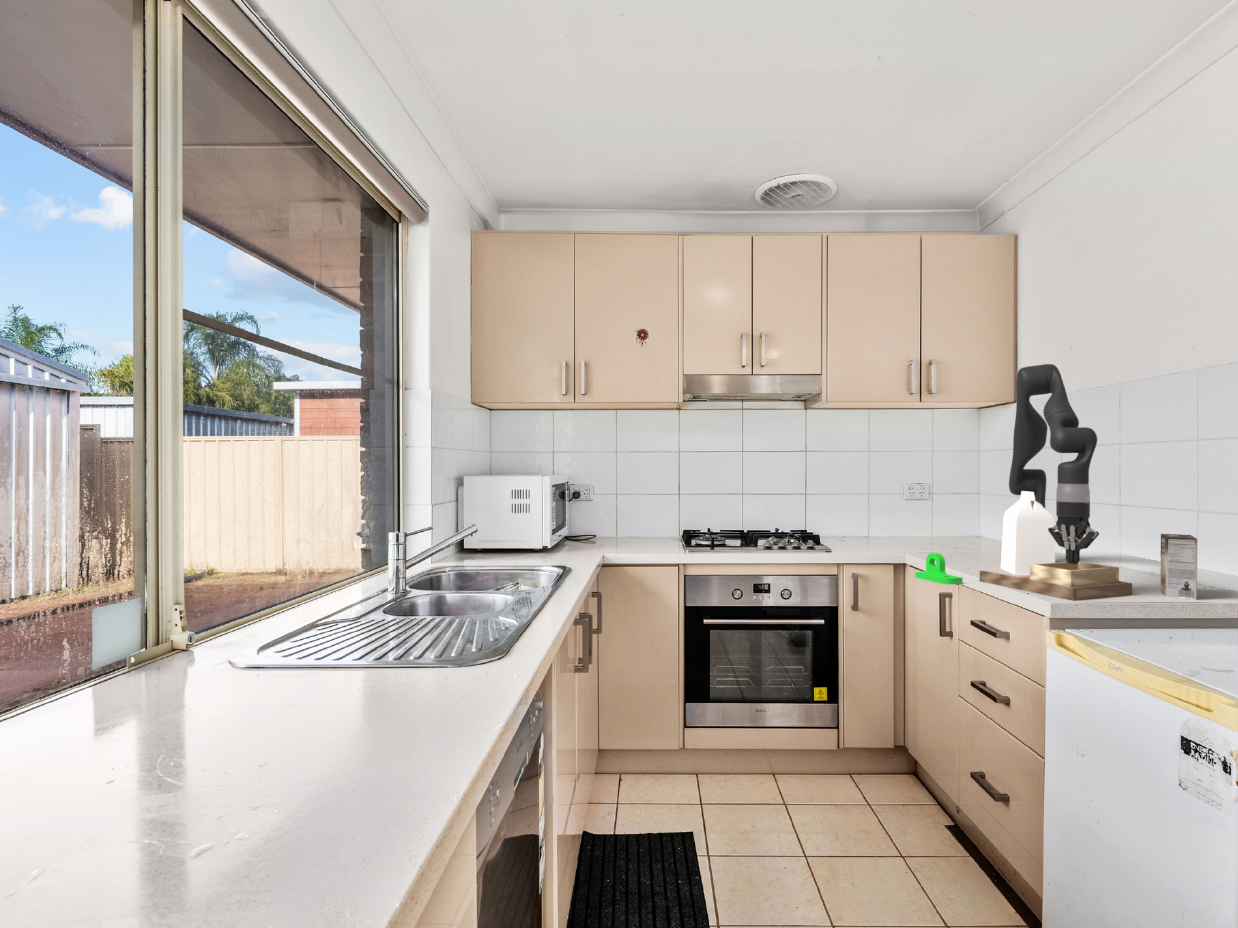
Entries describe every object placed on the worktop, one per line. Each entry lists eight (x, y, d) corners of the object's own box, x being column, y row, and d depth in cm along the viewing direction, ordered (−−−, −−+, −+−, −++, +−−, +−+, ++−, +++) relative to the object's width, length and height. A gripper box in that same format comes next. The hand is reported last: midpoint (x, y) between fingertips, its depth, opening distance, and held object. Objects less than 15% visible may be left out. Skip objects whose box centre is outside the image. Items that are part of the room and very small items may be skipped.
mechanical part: (915, 578, 196) (915, 552, 196) (931, 577, 198) (931, 551, 198) (945, 585, 185) (946, 557, 185) (962, 584, 187) (962, 557, 187)
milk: (1000, 568, 213) (1000, 490, 213) (1038, 569, 211) (1039, 490, 211) (1014, 574, 202) (1015, 492, 202) (1055, 576, 199) (1056, 492, 199)
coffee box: (1159, 591, 175) (1159, 533, 175) (1190, 594, 172) (1190, 534, 172) (1165, 597, 168) (1166, 536, 168) (1198, 600, 164) (1198, 538, 164)
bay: (979, 581, 191) (979, 570, 191) (1033, 576, 198) (1033, 566, 198) (1073, 600, 164) (1073, 588, 164) (1132, 594, 171) (1132, 583, 171)
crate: (1029, 585, 178) (1030, 564, 178) (1076, 582, 183) (1076, 561, 183) (1071, 594, 167) (1071, 571, 167) (1118, 589, 173) (1119, 567, 173)
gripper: (1039, 499, 180) (1039, 560, 180) (1087, 501, 168) (1087, 567, 168) (1059, 498, 183) (1059, 559, 183) (1107, 501, 170) (1107, 566, 170)
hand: (1072, 563), depth 175 cm, fingers closed
